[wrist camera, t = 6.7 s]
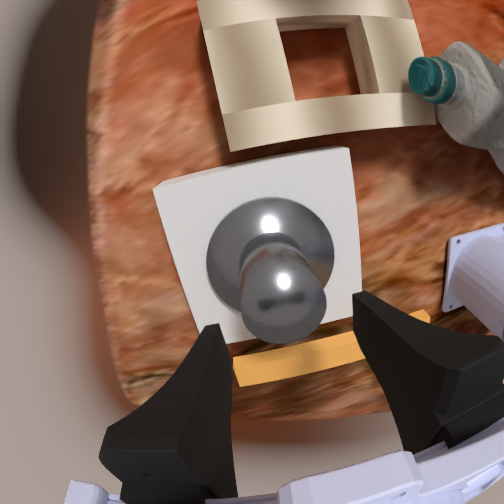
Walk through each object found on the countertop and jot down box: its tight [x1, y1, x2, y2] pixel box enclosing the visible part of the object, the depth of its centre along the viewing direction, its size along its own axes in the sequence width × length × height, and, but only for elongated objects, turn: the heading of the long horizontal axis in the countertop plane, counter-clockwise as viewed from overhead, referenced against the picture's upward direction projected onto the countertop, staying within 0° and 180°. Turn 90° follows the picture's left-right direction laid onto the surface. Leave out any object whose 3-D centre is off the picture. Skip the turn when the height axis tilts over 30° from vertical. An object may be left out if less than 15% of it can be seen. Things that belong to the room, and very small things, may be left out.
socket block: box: [153, 145, 362, 344], centre depth 21 cm, size 12×12×3 cm
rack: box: [197, 0, 436, 152], centre depth 16 cm, size 14×10×3 cm
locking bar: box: [233, 309, 430, 387], centre depth 21 cm, size 15×2×1 cm, turn 102°
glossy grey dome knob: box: [206, 197, 335, 344], centre depth 18 cm, size 8×8×9 cm
